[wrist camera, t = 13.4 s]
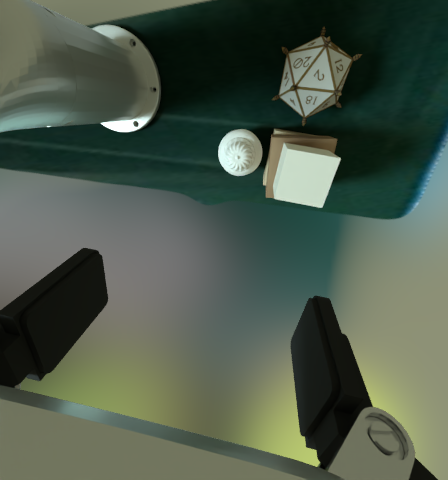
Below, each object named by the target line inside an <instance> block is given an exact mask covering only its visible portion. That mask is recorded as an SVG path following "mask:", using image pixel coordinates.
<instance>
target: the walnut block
mask: <svg viewBox="0 0 448 480" xmlns="http://www.w3.org/2000/svg"><path fill="white" fill-rule="evenodd" d="M284 143H290V144H295V145H301V146H307V147H312V148H318V149H324V150H329V151H330V152H332V153H333V154H334V152H335V148H336V143H337V139H335V138H333V137H330V136H314V135H278V134H271V142H270V152H269V162H268V172H267V182H266V197H267V198H274V191H273V183H274V179H275V175H276V171H277V168H278V164H279V160H280V156H281V152H282V148H283V144H284Z"/></svg>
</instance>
